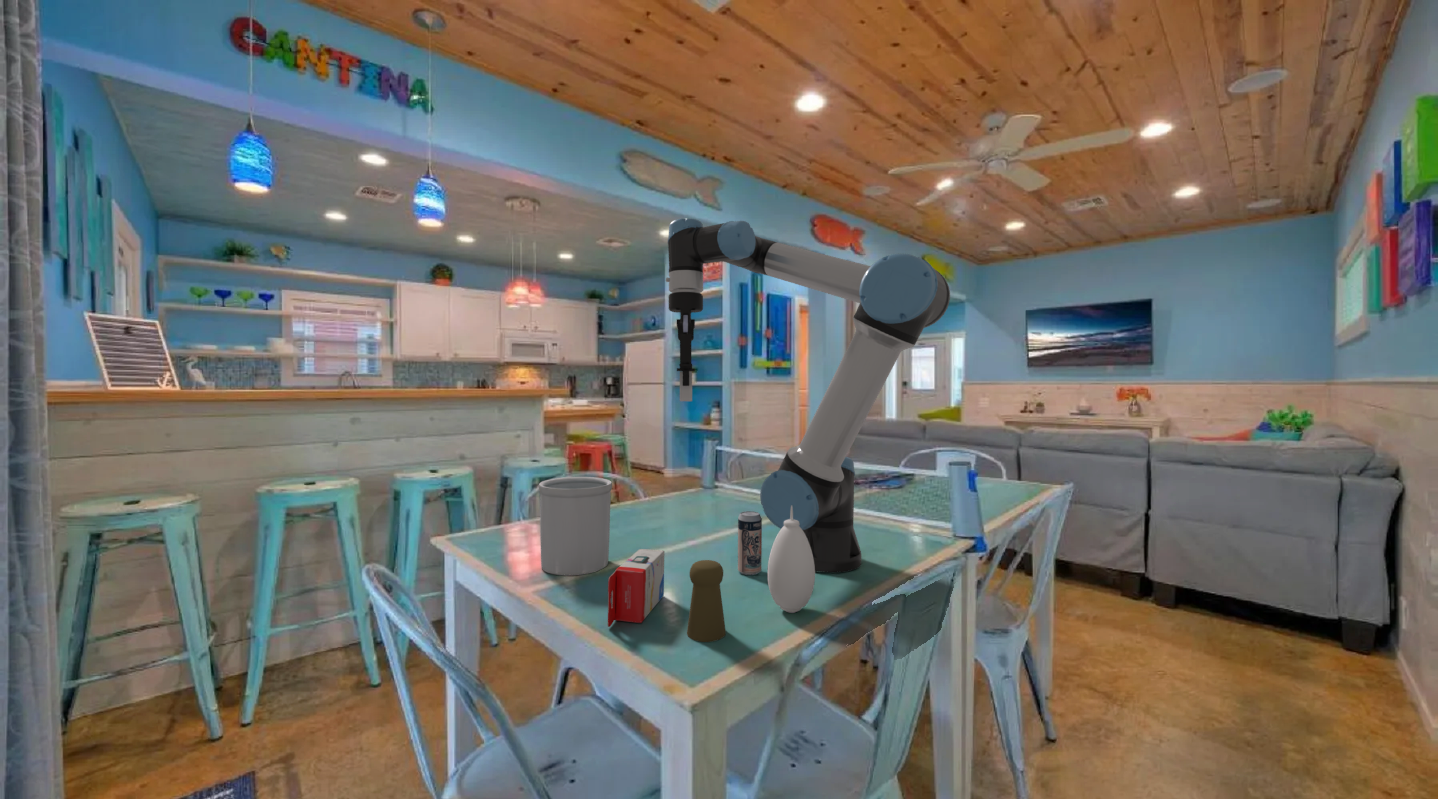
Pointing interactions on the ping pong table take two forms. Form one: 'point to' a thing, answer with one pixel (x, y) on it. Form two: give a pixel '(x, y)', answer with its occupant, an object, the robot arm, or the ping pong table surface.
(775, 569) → the air blower bulb
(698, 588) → the cork
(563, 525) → the utensil holder
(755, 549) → the beer can
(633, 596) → the ink box
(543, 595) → the ping pong table surface
